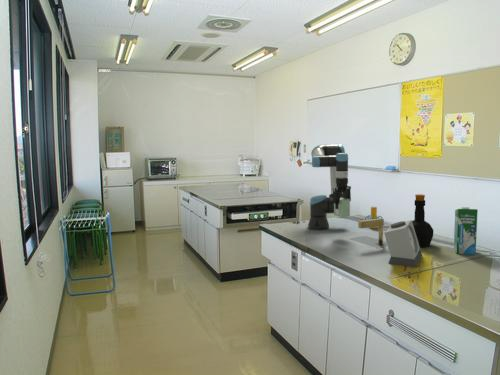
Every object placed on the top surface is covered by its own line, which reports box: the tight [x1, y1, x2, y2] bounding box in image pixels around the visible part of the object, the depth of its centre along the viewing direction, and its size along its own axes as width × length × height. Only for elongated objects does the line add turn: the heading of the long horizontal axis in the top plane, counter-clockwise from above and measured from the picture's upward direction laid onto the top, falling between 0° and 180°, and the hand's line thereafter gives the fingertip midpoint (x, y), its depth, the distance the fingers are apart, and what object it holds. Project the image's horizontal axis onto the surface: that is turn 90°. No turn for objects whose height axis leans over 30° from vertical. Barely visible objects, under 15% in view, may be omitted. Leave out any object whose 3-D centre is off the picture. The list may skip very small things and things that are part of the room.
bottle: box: [412, 194, 434, 248], centre depth 222 cm, size 16×16×30 cm
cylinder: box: [364, 206, 384, 230], centre depth 268 cm, size 12×10×15 cm
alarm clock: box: [383, 219, 423, 268], centre depth 197 cm, size 20×16×20 cm
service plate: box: [349, 235, 388, 249], centre depth 232 cm, size 24×14×1 cm, turn 27°
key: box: [357, 217, 385, 244], centre depth 222 cm, size 16×2×15 cm, turn 110°
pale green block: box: [333, 198, 351, 218], centre depth 242 cm, size 8×6×11 cm
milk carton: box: [453, 206, 479, 256], centre depth 206 cm, size 9×9×25 cm
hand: (341, 213), depth 243 cm, fingers closed on pale green block, 6 cm apart
